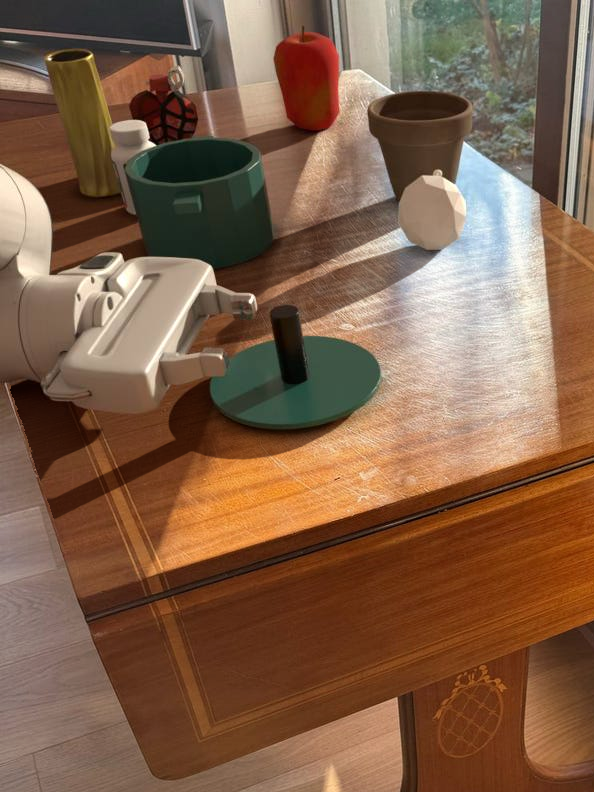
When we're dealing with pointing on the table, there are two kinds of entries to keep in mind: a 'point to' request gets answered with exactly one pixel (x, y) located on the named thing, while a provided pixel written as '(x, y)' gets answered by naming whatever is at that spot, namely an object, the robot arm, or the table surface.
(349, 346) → the lid
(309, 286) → the table surface
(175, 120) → the grenade
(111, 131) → the pill bottle
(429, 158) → the flower pot
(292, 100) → the apple
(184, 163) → the pot
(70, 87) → the vase
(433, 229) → the ornament
